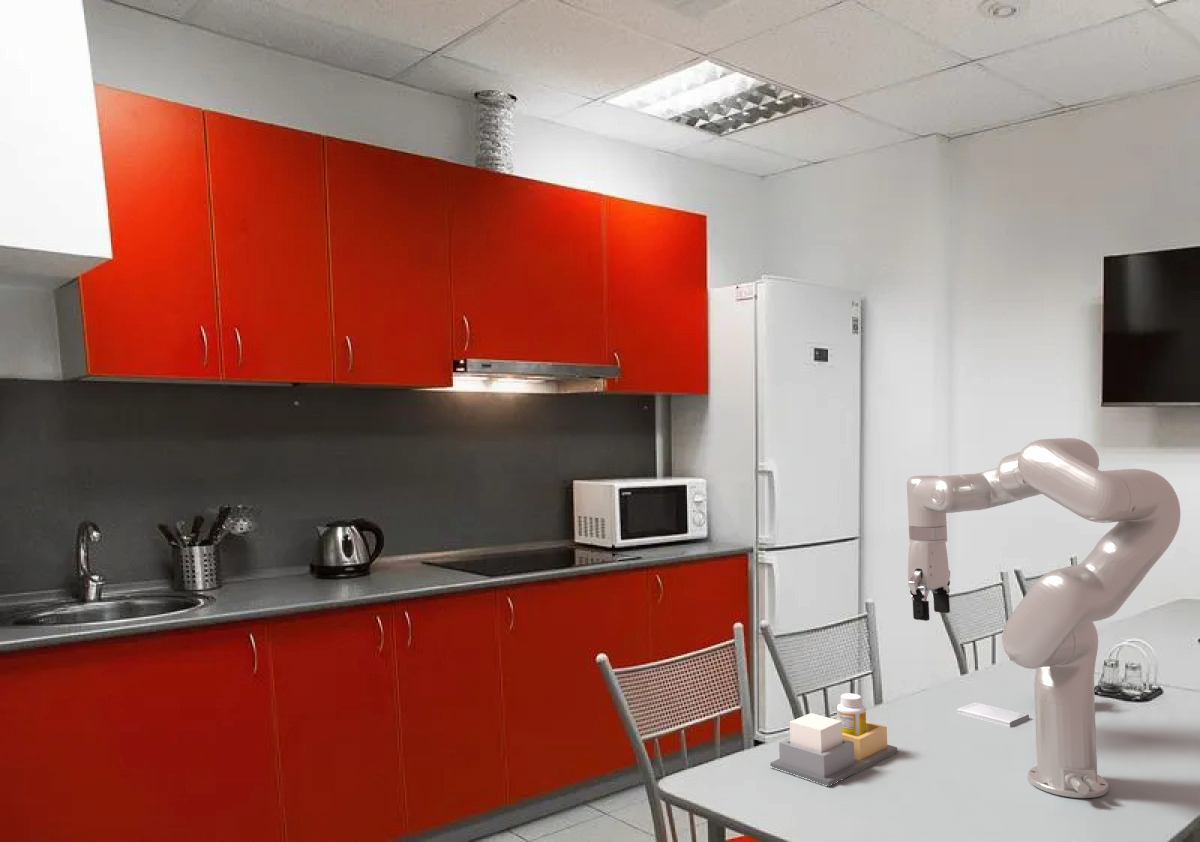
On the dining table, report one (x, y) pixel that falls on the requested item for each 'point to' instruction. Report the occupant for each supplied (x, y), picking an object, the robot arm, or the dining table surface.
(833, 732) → the block sorting tray
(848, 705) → the supplement bottle
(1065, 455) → the robot arm
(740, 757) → the dining table surface
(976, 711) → the hard drive
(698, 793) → the dining table surface
